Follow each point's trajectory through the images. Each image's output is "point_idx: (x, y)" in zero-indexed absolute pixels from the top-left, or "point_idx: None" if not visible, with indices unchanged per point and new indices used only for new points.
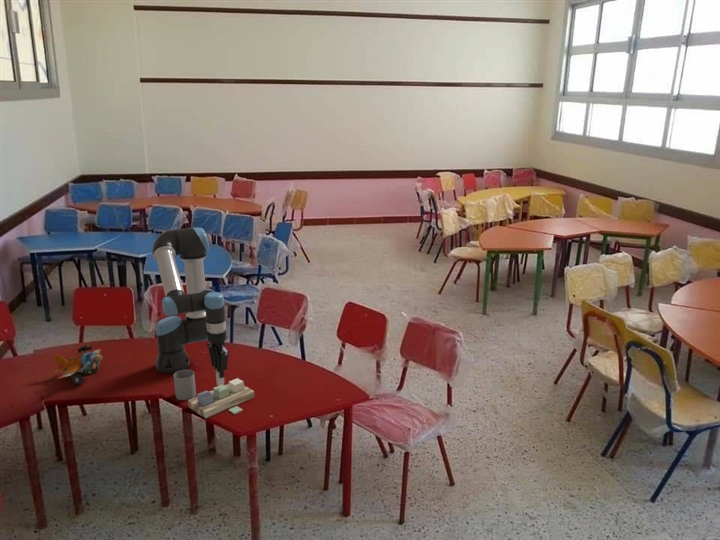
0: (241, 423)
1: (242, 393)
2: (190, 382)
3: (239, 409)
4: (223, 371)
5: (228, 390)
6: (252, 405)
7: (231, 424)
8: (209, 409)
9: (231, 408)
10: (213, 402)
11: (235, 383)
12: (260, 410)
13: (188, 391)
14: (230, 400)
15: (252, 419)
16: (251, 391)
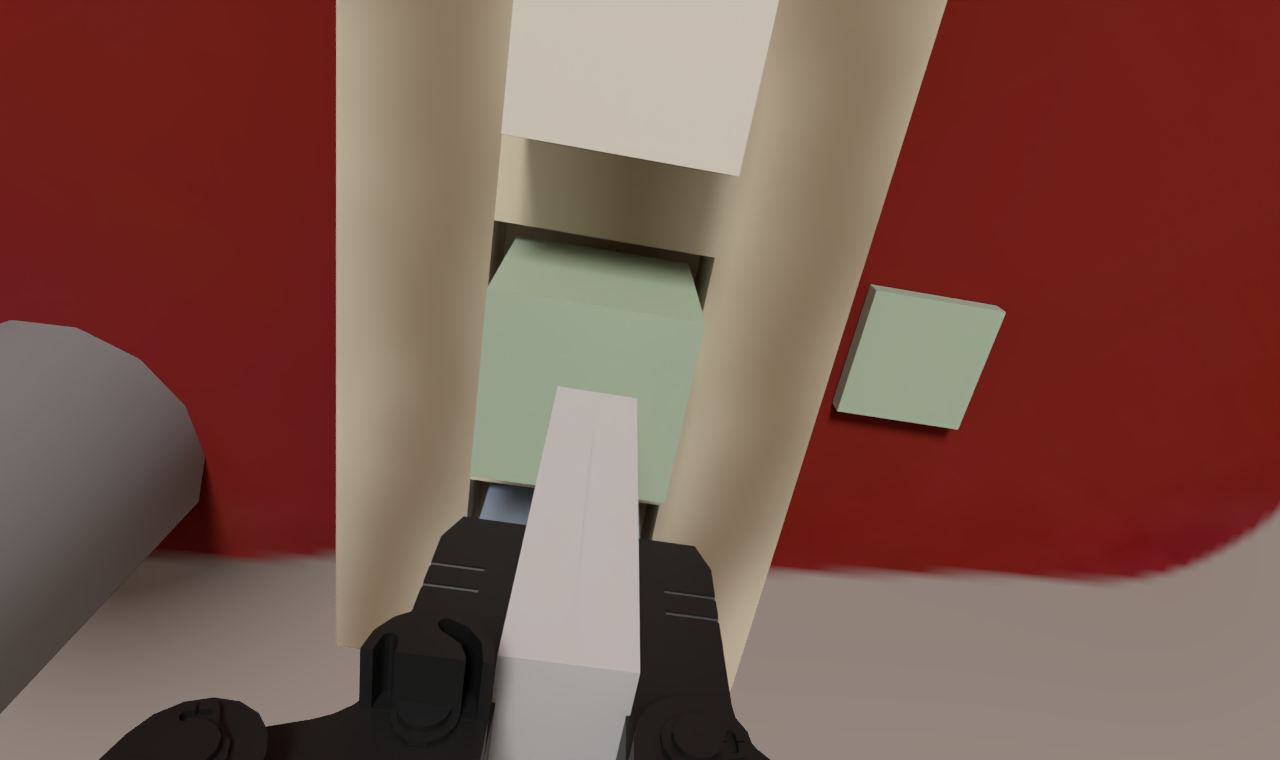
0: (1134, 496)
1: (842, 85)
2: (32, 609)
3: (966, 336)
4: (728, 705)
5: (698, 310)
6: (1045, 118)
7: (1039, 560)
8: (732, 639)
9: (851, 374)
10: (638, 513)
11: (694, 102)
12: (1230, 157)
13: (134, 549)
14: (815, 363)
15: (1222, 377)
16: None
